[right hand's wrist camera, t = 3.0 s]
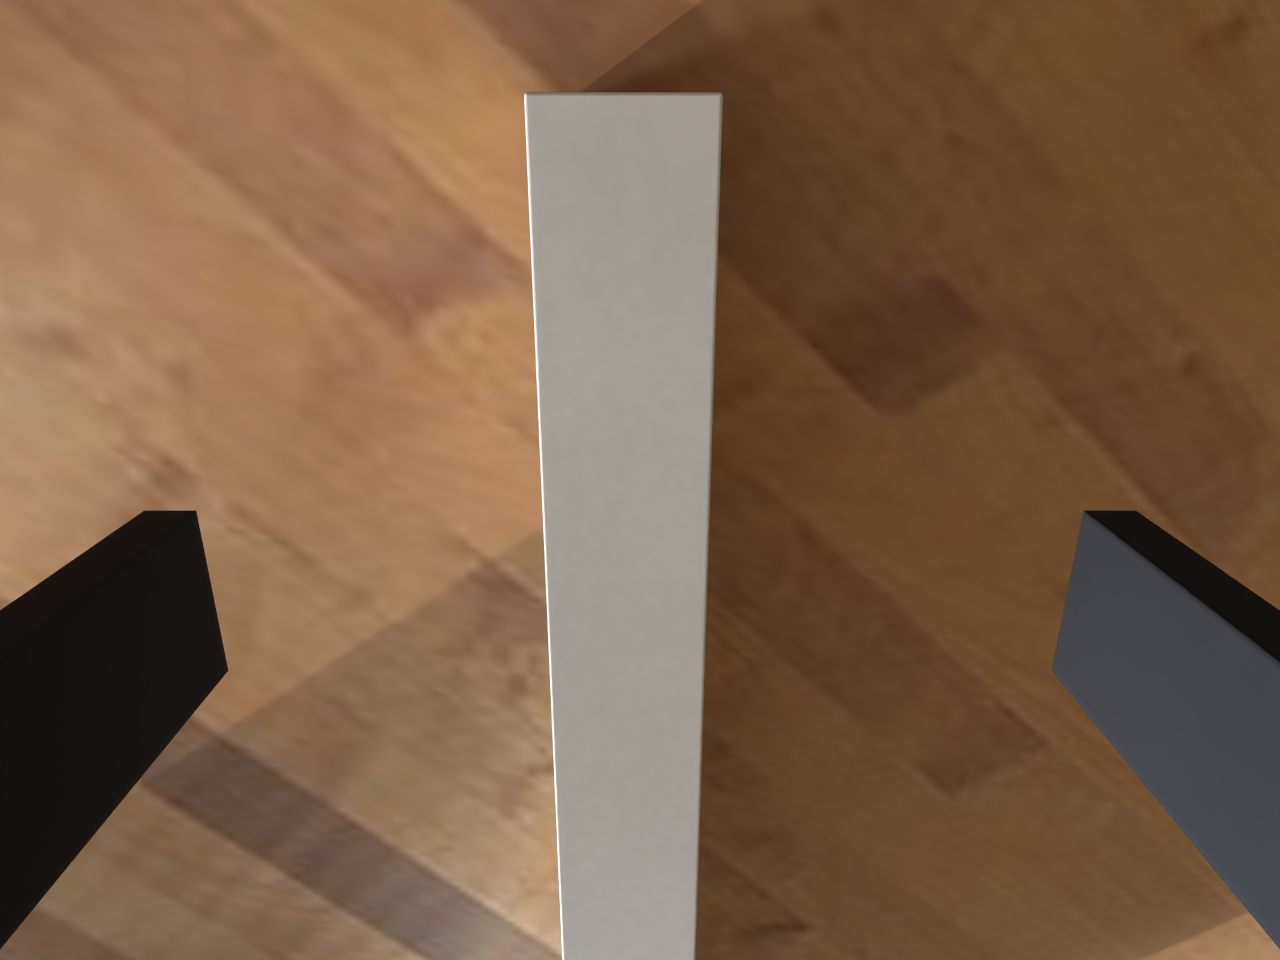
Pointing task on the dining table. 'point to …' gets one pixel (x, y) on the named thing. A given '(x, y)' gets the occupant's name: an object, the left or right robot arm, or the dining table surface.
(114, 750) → the right robot arm
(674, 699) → the post
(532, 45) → the dining table surface
